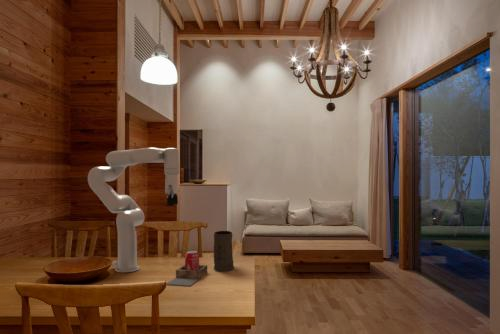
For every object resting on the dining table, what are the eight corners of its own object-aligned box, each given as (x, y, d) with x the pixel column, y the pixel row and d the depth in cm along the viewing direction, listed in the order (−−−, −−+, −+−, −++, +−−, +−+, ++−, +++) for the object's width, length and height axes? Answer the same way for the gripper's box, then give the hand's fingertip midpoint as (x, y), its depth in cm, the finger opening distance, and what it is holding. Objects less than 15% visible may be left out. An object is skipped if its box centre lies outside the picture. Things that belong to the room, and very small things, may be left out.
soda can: (185, 273, 190) (185, 250, 190) (199, 273, 191) (199, 250, 191) (184, 277, 183) (184, 253, 183) (198, 277, 184) (198, 253, 184)
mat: (166, 284, 172) (166, 283, 172) (175, 278, 182) (175, 277, 182) (190, 286, 169) (190, 285, 169) (198, 280, 179) (198, 279, 179)
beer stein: (230, 272, 192) (230, 234, 192) (210, 271, 194) (210, 233, 195) (237, 265, 207) (237, 229, 208) (219, 264, 209) (219, 228, 210)
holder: (176, 278, 182) (176, 270, 183) (185, 271, 194) (185, 264, 194) (199, 279, 180) (199, 271, 180) (207, 273, 191) (207, 265, 192)
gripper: (168, 172, 201) (169, 203, 201) (160, 172, 184) (161, 206, 184) (182, 171, 201) (183, 203, 201) (175, 171, 184) (176, 206, 184)
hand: (172, 204), depth 192 cm, fingers open, 9 cm apart
